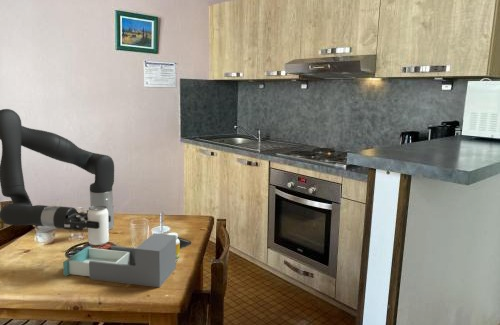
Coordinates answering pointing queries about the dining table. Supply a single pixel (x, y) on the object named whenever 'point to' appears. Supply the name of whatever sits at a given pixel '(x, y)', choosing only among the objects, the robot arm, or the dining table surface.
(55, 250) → the dining table surface
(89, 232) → the can
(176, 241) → the supplement bottle
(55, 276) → the dining table surface
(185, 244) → the phone
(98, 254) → the tray
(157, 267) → the dock
